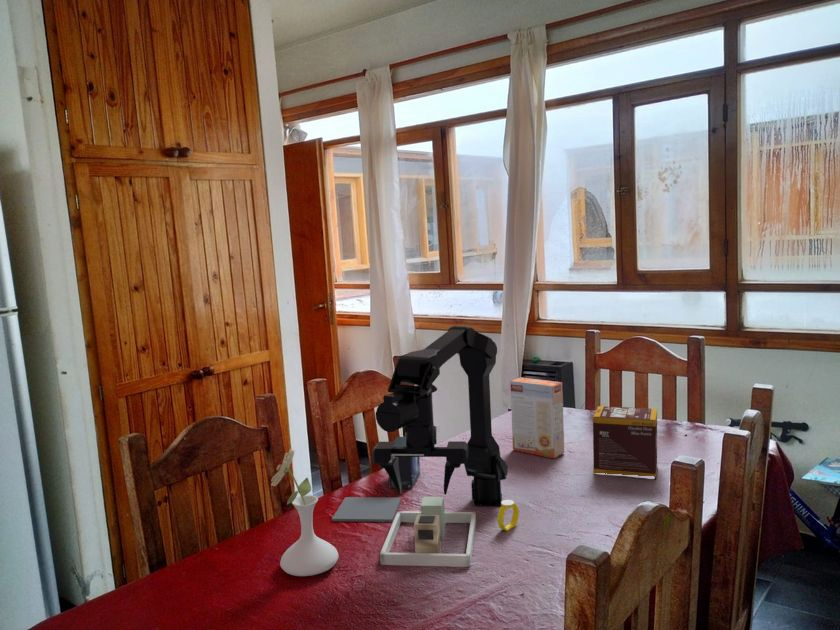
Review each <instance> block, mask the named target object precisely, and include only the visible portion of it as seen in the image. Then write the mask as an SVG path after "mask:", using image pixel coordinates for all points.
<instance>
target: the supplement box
mask: <svg viewBox="0 0 840 630" xmlns="http://www.w3.org/2000/svg"><path fill="white" fill-rule="evenodd" d="M592 434H593V436H592V442H593V443H592V444H593V446H592V448H593V449H592V450H593V459H592V461H593V471H592V472H593V473H605V474H606V473H607V474H622V475H638V476H654V477H656V478H657V473H656V471H657V470H658V409H657V408H643V407H627V406H626V407H625V406H603V405H600V406H599V405H598V406H597V407H596V410H595V411H594V415H593V417H592ZM657 472H658V471H657Z"/></svg>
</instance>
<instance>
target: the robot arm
mask: <svg viewBox="0 0 840 630" xmlns="http://www.w3.org/2000/svg"><path fill="white" fill-rule="evenodd" d="M497 353H498V347H497V344H496V342H495V341H494V340H493V339H492V337H491V338H490V337H489V336H487V335H484V334H482V333H480V332H479V331H476V330H475V329H474V328H473V327H470V326H469V325H466V326H465V325H453V326H450V327H449V328H448V330H447V332H445V333H444V334H442V335H441V336H439V337H438V338H437V339H436V340H434V341H433V342H432V343H430V344H429V345H427V346H426V347H424V348H423V349H419V350H414V351H413V350H412V351H410V352H407V353H405V354H403V355H401V356H400V357H399V358H398V359H397V362H396V365H395V368H394V370H393V373H392V376H391V379H390V383H389V386H388V389H387V392H388V393H387V394H385V395H383V402H381V403H380V404H378V406H377V408H376V412H375V420H376V422H377V424H378V426H379V427H380V428H381V430H383V431H384V432H387V433H393V432H396V431H397V430H399V429H402V437H405V438H406V447H396V442H393V441H378V442H377V444H376V445H375V447H374V448H373V449H372V453H371V460H372V462H371V463H373V464H376V465H377V464H378V466H379V468H383V469H384V470H385V472H386V473H387V475H388V477H389V476H390V478H391V480H392V481H393V483H394V485H395V487H396V488H395V490H396V492H397V493H398V494H399V495H402V488H401V479H400V472H399V466H398V457H419V458H445V463H444V464H445V465H444V473H443V474H444V476H443V477H444V478H443V494H444V495H445V496H446V495H447V493H448V489H449V485H450V481H451V478H452V475H453V473H454V471H455V469H459V468H461V465H463V466H464V470H465V474H466V475H467V477H473V479H471V485H470V486H471V499H472V501H473V506H477V507H478V506H484V507H485V506H486V507H487V506H488V507H489V506H490V507H491V506H492V507H493V506H495V507H496V506H497V507H499V506H500V507H501V502H502V501H503V493H502V481H503V480H506V479H507V476H508V471H509V470H508V469H509V466H508V464H507V463H506V462H505V460H504V458H503V457H501V451H500V446H499V444H498V442H497V441H496V439H495V438H494V436H493V434H492V433H493V432H492V431H493V430H492V410H491V409H492V408H491V389H490V388H491V386H490V385H491V383H490V374H491V372H492V370H493V369H494V367H495V365H496V363H497ZM456 354H457V355H458V357H459V363H460V366H461V368H462V369H463V371H464V373H465V374H466V375H467V384H468V385H467V386H468V387H467V388H468V406H469V426H470V427H469V428H470V430H469V431H470V437H469V439H468V441H467V442H466V441H462V440H461V441H460V440H459V441H458V440H457V441H452V440H451V441H448V442H447V445H446V446H435V445H437V443H438V442H437V441H438V440H437V426H435V424H434V406H433V405H434V403H433V393H436V392H437V390H438V387H436V385H434V382H435V381H436V379H437V378H438V377H439V376H440V374H441V369H440V368H441V367H442V366H443V365H444V364H446V362H448V361H449V360H451V359H452V358H453V357H454V356H456Z"/></svg>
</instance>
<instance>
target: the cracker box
mask: <svg viewBox="0 0 840 630" xmlns="http://www.w3.org/2000/svg"><path fill="white" fill-rule="evenodd" d="M563 393H564V392H563V382H562V381H554V380H545V379H540V378H530V377H522V376H521V377H518V378H514V379H512V380H510V403H511V404H510V407H511V410H510V411H511V431H512V432H511V434H512V435H511V436H512V438H511V439H512V450H513V451H516V450H517V451H516V452H520V451H522V453H525V452H526V453H525V454H530V453H531V454H530V455H534V454H536V455H535V456H539V455H540V457H545V458H548V457H549V459H552V458H555V459H556V458H558V457H560V456H562V455H564V454H565V433H564V432H565V431H564V430H565V429H564V426H565V425H564V395H563ZM563 453H564V454H563ZM561 454H562V455H561ZM559 455H560V456H559Z"/></svg>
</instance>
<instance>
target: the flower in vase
mask: <svg viewBox="0 0 840 630" xmlns="http://www.w3.org/2000/svg"><path fill="white" fill-rule="evenodd" d="M294 455H295V449H292V448H290V449H289V451H288V452H285V454H284V456H283V460H282V464H278V465H277V467H276V471H277V472H276V473H275V475H274V476H273V477H272V478H271V481H270V482H271V483H270V485H271V487H272V486H273V487H276V486H277V485H278V484H279V483H280V482H281V481H282V480H283V477H284V476H285V474H286V473H289V475H290V476H291V478H292V481H294V484H295V486H296V488H297V490H296V491H294V492H293V493H292V494H291V495H290V496H289V498H288V499H287V502H286V503H287V504H286V505H289V504H292V506H294V507H295V509H296V511H297V512H298V515H299V516H298V517H299V519H300V528H301V532H300V537H299V538H298V539H297V540H296V542H294V543H293V544H291V545H290V546H289V547H288V548H287V549H286V550H285V552H284V553H283V554H282V556H281V559H280V560H279V561H280V562H279V564H280V565H279V566H280V568H281V569H282V570H283V571H284V572H285V573H287V574H288V575H291V576H295V577H310V576H315V575H319V574H322V573H324V572H327V571H329V570H330V569H331V568H332V567H334V566H335V565H336V563H338V562H337V561H339V552H338V549H337V548H336V547H335V546H334V545H333V544H331V542H328V541H326V540H324V539H322V538H320V537H318V536H317V535H316V534H315V532H314V531H315V530H314V527H313V526H314V525H313V524H314V523H313V519H314V518H313V516H314V515H313V514H314V508H315V507H316V504H317V502H318V501H319V498H318V496H315V495H312V494H309V493H310V492H311V491H312V486H311V483H310V480H309V478H308V477H306V478H305V479H303V481H301V483H300V484H298V482H297V480H296V478H295V476H294V475H293V473H292V471H291V470H290V466H291V464H292V461H293V458H294ZM298 494H299V495H300V496H298Z"/></svg>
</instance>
